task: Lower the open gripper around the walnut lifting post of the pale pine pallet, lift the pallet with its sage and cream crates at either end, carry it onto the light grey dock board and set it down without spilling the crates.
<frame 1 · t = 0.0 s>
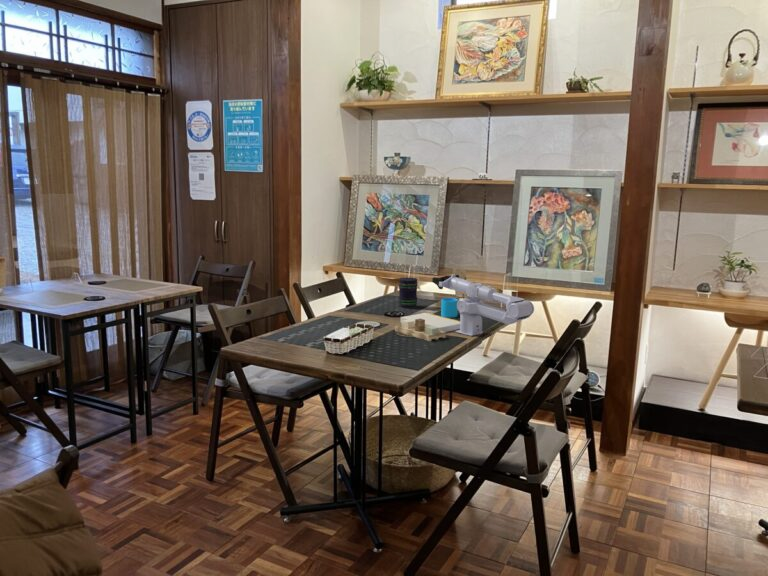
hand: (438, 278, 287), 22 cm above the table, tool horizontal, fingers open, 7 cm apart
pallet: (419, 335, 273), on the table, touching cream crate, sage crate
mug: (451, 315, 312), on the table
cream crate: (407, 327, 278), point 2 cm above the table, touching pallet
sage crate: (432, 334, 266), point 2 cm above the table, touching pallet
dock: (431, 325, 289), on the table
storage jar: (407, 307, 330), on the table
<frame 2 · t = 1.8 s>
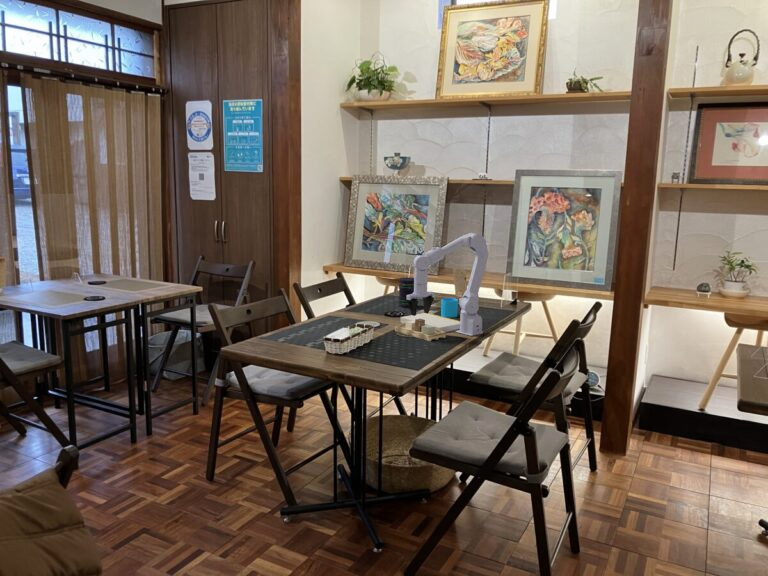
hand: (420, 314, 271), 9 cm above the table, tool pointing down, fingers open, 7 cm apart
pallet: (419, 335, 273), on the table, touching cream crate
cream crate: (411, 328, 276), point 2 cm above the table, touching pallet
sage crate: (428, 333, 268), point 2 cm above the table
everything else where it was.
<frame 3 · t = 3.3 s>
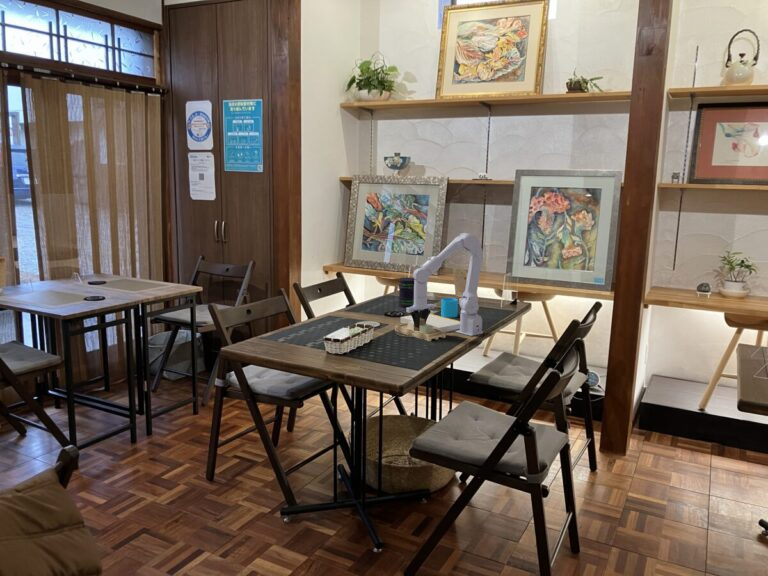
hand: (419, 326, 272), 3 cm above the table, tool pointing down, fingers closed on pallet, 3 cm apart
pallet: (419, 334, 273), on the table, touching cream crate, gripper, sage crate
cream crate: (414, 328, 275), point 2 cm above the table, touching pallet
sage crate: (426, 332, 269), point 2 cm above the table, touching pallet
everything else where it was.
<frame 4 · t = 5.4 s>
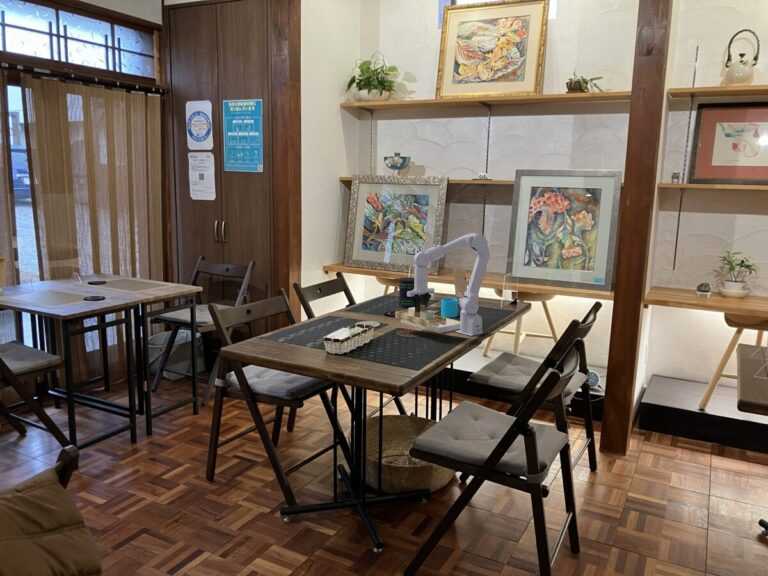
hand: (420, 310, 271), 10 cm above the table, tool pointing down, fingers closed on pallet, 3 cm apart
pallet: (420, 321, 272), point 6 cm above the table, touching cream crate, gripper, sage crate
cream crate: (414, 315, 275), point 8 cm above the table, touching pallet
sage crate: (426, 318, 269), point 8 cm above the table, touching pallet
everything else where it was.
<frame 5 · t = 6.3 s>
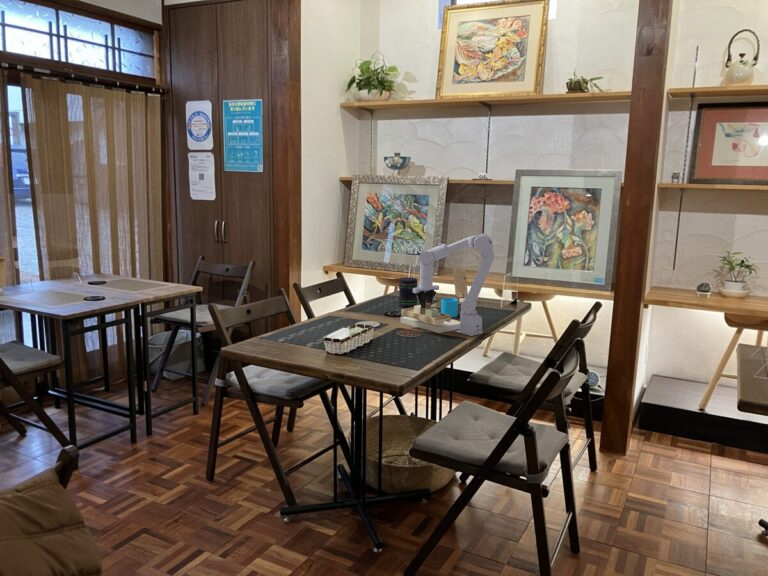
hand: (425, 307, 279), 10 cm above the table, tool pointing down, fingers closed on pallet, 3 cm apart
pallet: (425, 318, 280), point 5 cm above the table, touching cream crate, gripper, sage crate
cream crate: (420, 312, 282), point 7 cm above the table, touching pallet
sage crate: (431, 315, 276), point 7 cm above the table, touching pallet
everything else where it was.
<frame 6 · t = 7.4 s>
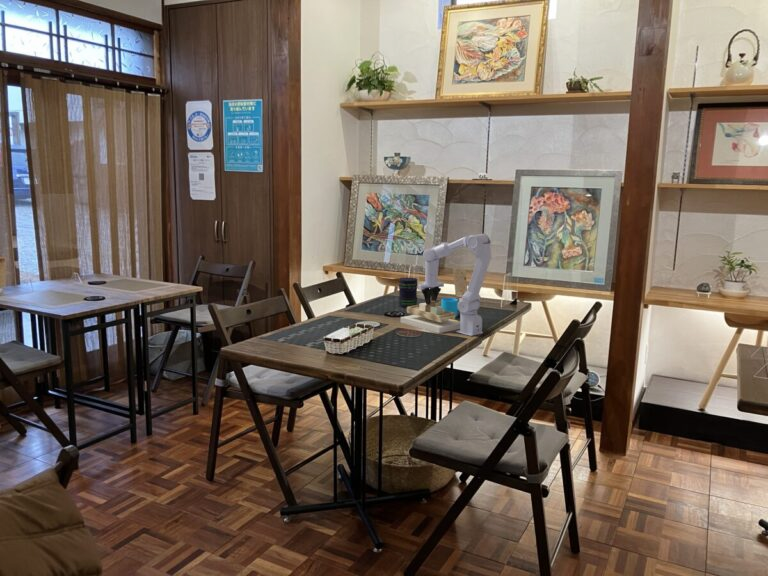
hand: (430, 303, 287), 10 cm above the table, tool pointing down, fingers closed on pallet, 3 cm apart
pallet: (430, 315, 288), point 5 cm above the table, touching cream crate, gripper, sage crate
cream crate: (425, 310, 290), point 7 cm above the table, touching pallet
sage crate: (436, 313, 285), point 6 cm above the table, touching pallet
everything else where it was.
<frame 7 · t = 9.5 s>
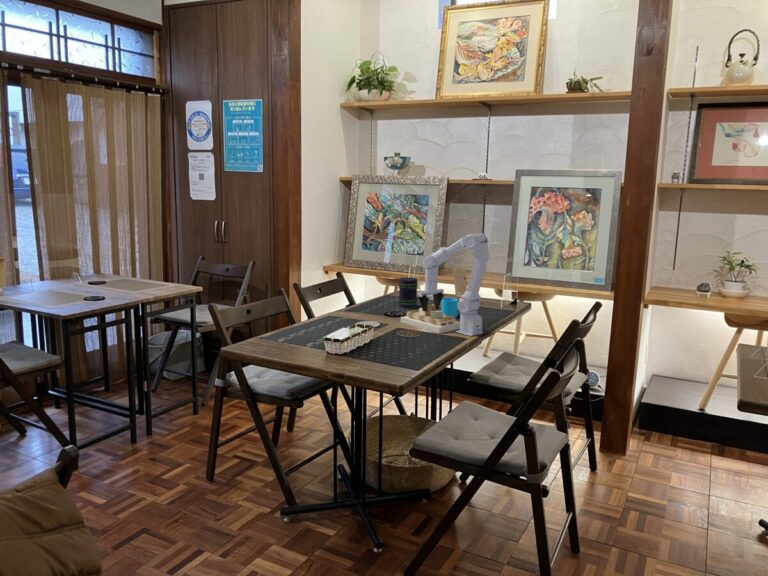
hand: (430, 310, 288), 7 cm above the table, tool pointing down, fingers open, 7 cm apart
pallet: (430, 320, 288), point 2 cm above the table, touching cream crate, dock, sage crate
cream crate: (425, 314, 291), point 4 cm above the table, touching pallet
sage crate: (436, 317, 285), point 4 cm above the table, touching pallet
everything else where it was.
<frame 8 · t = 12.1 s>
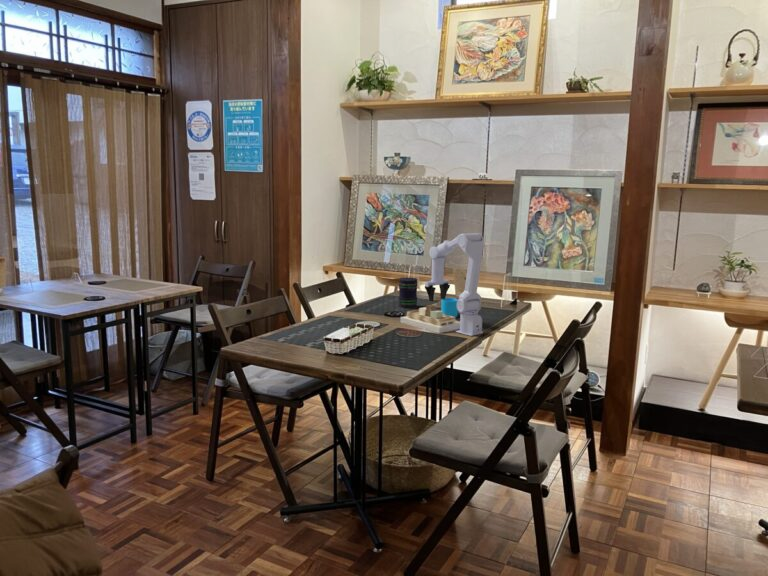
hand: (437, 300, 295), 10 cm above the table, tool pointing down, fingers open, 7 cm apart
nothing on the table moved.
at the end: pallet inside the target area on the dock (0.1 cm from its centre), point 2.5 cm above the dock's base; sage crate inside the target area on the pallet (4.0 cm from its centre), point 2.0 cm above the pallet's base; cream crate inside the target area on the pallet (3.6 cm from its centre), point 2.0 cm above the pallet's base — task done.
